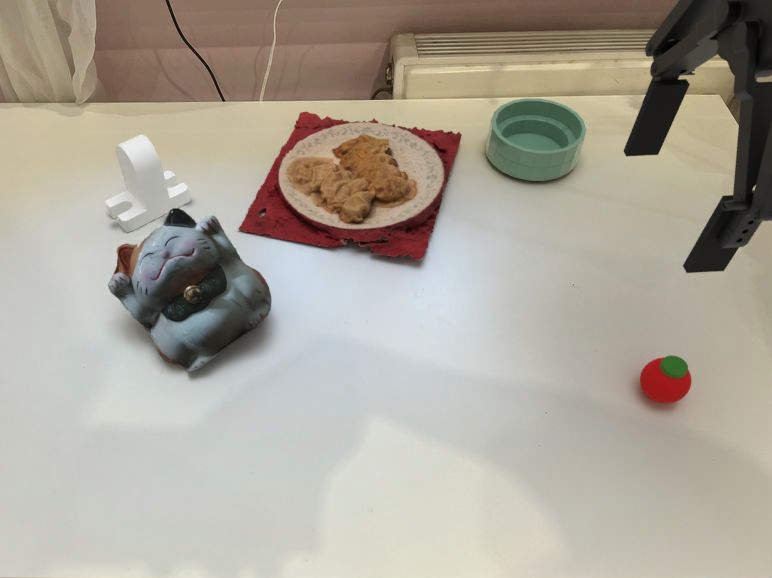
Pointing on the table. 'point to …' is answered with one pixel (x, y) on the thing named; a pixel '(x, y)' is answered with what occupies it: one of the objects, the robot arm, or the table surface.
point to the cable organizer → (144, 186)
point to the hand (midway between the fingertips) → (669, 206)
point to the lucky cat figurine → (190, 289)
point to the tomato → (666, 379)
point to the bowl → (535, 139)
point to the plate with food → (355, 185)
